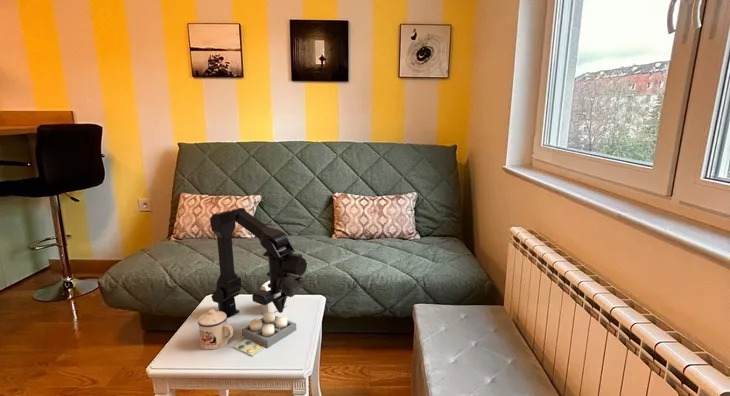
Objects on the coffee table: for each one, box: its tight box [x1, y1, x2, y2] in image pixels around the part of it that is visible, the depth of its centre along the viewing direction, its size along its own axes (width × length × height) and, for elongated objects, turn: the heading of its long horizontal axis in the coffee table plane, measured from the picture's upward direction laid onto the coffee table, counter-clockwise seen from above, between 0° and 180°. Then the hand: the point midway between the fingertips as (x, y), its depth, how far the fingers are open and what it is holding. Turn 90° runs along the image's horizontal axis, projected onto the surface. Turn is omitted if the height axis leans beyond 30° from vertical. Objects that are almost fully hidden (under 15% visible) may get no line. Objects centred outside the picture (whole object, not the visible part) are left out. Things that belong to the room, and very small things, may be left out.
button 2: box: [262, 324, 275, 338], centre depth 134 cm, size 4×4×3 cm
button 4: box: [275, 316, 288, 330], centre depth 139 cm, size 4×4×3 cm
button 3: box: [262, 312, 276, 324], centre depth 143 cm, size 4×4×3 cm
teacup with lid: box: [197, 308, 234, 350], centre depth 132 cm, size 12×9×12 cm
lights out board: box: [233, 315, 297, 357], centre depth 137 cm, size 13×19×2 cm
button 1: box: [249, 318, 262, 333], centre depth 138 cm, size 4×4×3 cm
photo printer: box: [260, 279, 288, 315], centre depth 155 cm, size 10×4×12 cm, turn 141°
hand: (280, 312), depth 139 cm, fingers closed
